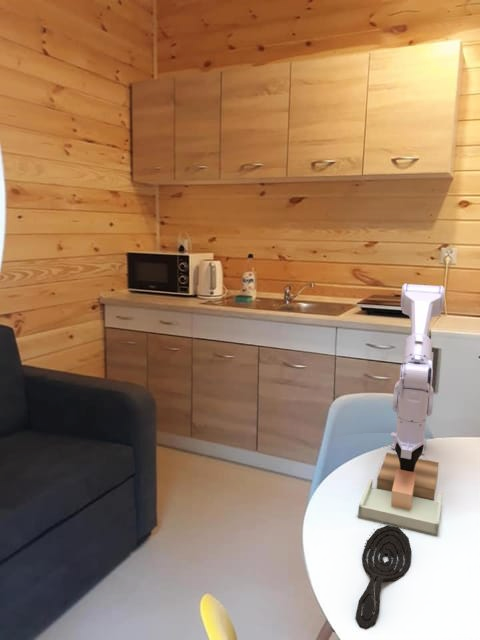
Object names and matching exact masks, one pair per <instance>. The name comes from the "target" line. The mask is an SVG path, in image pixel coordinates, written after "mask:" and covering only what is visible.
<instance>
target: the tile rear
mask: <svg viewBox="0 0 480 640" xmlns="http://www.w3.org/2000/svg"><path fill="white" fill-rule="evenodd" d="M415 479H416V473H415V472H410V471H405V470H400V469H397V470H396V475H395V479H394V481H396V482H401V483H406V484H411V485H414V487H415ZM413 493H414V489H413Z"/></svg>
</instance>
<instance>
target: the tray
mask: <svg viewBox="0 0 480 640" xmlns="http://www.w3.org/2000/svg"><path fill="white" fill-rule="evenodd" d="M391 499H392V492H391V491H386V490H381V489H377V487H373V478H369V479H368V482H367V485H366V487H365V490H364V492H363V494H362V497H361V500H360V503H359V505H358V510H357V511H358V512H357V518H359V519H362V520H363V519H364V520H367V521H371V522H375V523H380V524H384V523H385V524H384V525H389V526H394V525H395V526H394V527H399V528H400V527H401V528H400V529H405V530H409V531H414V532H417V533H422V534H427V535H430V536H434V537H438V536H439V535H438V533H439V524H440V516H441V508H442V502H443V501H442V500H443V493H438V500H434V501H433V500H428V499H423V498H419V497H414V496H413V501H412V507H411V510H410V509H405V508H401V507H396V506H392V505H391ZM386 523H387V524H386ZM388 523H389V524H388ZM392 523H393V524H392ZM396 524H397V525H396Z"/></svg>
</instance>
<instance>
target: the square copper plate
mask: <svg viewBox="0 0 480 640" xmlns="http://www.w3.org/2000/svg"><path fill="white" fill-rule="evenodd" d="M397 469H400V462H399V458H398V455H397V453H392V452H391V453H390V452H386V453H385V457H384V459H383V462H382V464H381V467H380V470H379V472H378V476H377V479H376V488H377V489H381V490H386V491H391V492H392V488H393V484H394V479H395V475H396V470H397ZM414 472H415V473H416V479H415V487H414V493H413V496H414V497H419V498H423V499H428V500H433V501H435V493H436V488H437V487H436V486H437V479H438V472H439V462H438V461H434V460H433V461H432V460H428V459H422V458H419V459H418V460H417V462H416V465H415V468H414Z"/></svg>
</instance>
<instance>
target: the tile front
mask: <svg viewBox="0 0 480 640" xmlns="http://www.w3.org/2000/svg"><path fill="white" fill-rule="evenodd" d="M413 489H414V485H411V484H406V483H401V482H396V481H394V484H393V488H392V499H391V505H392V506H396V507H401V508H405V509H410V510H411V507H412V501H413Z"/></svg>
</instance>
